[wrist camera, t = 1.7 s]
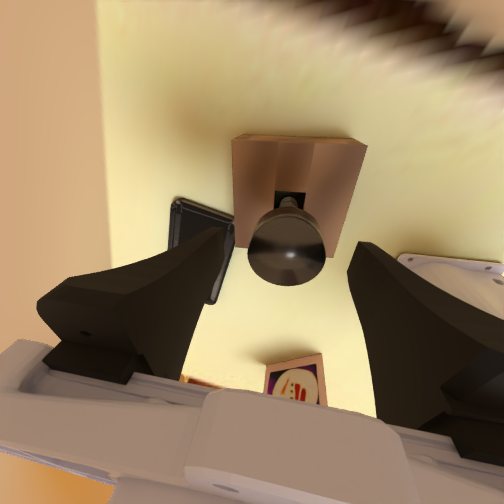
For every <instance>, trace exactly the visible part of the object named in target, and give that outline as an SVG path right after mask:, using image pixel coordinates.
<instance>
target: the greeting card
mask: <svg viewBox="0 0 504 504" xmlns="http://www.w3.org/2000/svg"><path fill="white" fill-rule="evenodd" d="M263 393H264V394H269V395H274V396H279V397H284V398H289V399H294V400H299V401H304V402H308V403H313V404H318V405H323V406H328V404H327V395H326V386H325V377H324V368H323V359H322V354H317V355H313V356H308V357H304V358H299V359H294V360H290V361H285V362H280V363H276V364H271V365H267V366H266V373H265V382H264V391H263Z"/></svg>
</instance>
